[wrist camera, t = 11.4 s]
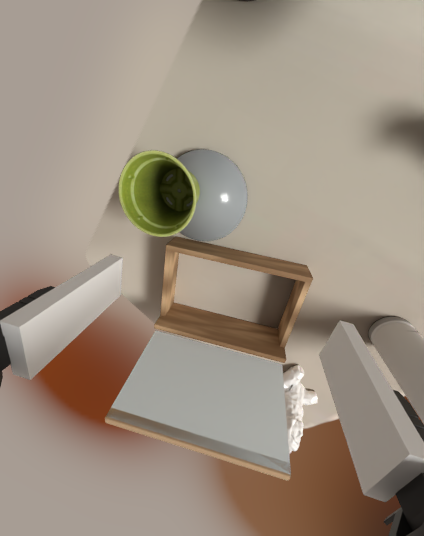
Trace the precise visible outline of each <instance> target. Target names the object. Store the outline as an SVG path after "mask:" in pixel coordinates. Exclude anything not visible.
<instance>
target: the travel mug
mask: <svg viewBox="0 0 424 536" xmlns="http://www.w3.org/2000/svg"><path fill="white" fill-rule="evenodd" d="M368 335H369V338H370V340H371V342H372V343H373V345H374V346H375V348H376V350H377V351H378V353H379V354H380V356H381V357H382V359H383V361H384V362H385V364H386V365H387V367H388V368H389V370H390V372H391V373H392V375H393V376H394V378H395V379H396V381H397V383H398V384H399V386H400V387H401V389H402V390H403V392H404V394H405V395H406V397H407V398H408V400H409V401H410V403H411V404H412V406H413V408H414V409H415V411H416V412H417V414H418V415H419V417H420V419H421V420H422V422H423V423H424V337H423V336H422V335H421V334H420V333H419V332H418V331H417V330H416V329H415V328H414V327H413V326H412V325H411V324H410V323H409V322H408V321H407V320H405V319H403V318H399V317H386V318H383V319H380V320H378V321H376V322H375V323H374V324H373V325H372V326H371V327H370V329H369V334H368Z"/></svg>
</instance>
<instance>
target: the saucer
mask: <svg viewBox="0 0 424 536" xmlns="http://www.w3.org/2000/svg"><path fill="white" fill-rule="evenodd" d="M177 159H178V160H179V161H180V162H181V163H182V164H183V165H184V166H185V167H186V169H187V170H188V171H190V172H191V173H192V174H193V175H194V176H195V177H196V179H197V181H198V183H199V187H200V195H199V199H198V201H197V203H196V208H195V212H194V214H193V217H192V219H191V221H190V222H189V223H188V225H187V226H186V227H185V228H184V229H183V230H181V231H180V233H182V234H183V235H185V236H187V237H189V238H191V239H194V240H198V241H213V240H218V239H220V238H223V237H225V236H226V235H228V234H229V233H231V232H232V231H233V230H234V229H235V228H236V227H237V226H238V224H239V223H240V221H241V220H242V218H243V216H244V213H245V210H246V206H247V197H248V194H247V187H246V182H245V180H244V177H243V175H242V173H241V171H240V170H239V168H238V167H237V166H236V165H235V163H234V162H233V161H231V160H230V159H229V158H228V157H226V156H224V155H223V154H220V153H218V152H215V151H211V150H204V149H203V150H194V151H190V152H187V153H185V154H183V155H181V156H180V157H179V158H177ZM172 176H173V174H171V175H169V176H168V177H167V179H166V181H168V180H169V179H170V178H171V177H172ZM178 192H179V193H180V192H181V190H180V189H178ZM166 199H167V201H168V202H169V203H170V204H171V205H172V203H171V201H170V200H169V199H168V197H166ZM192 203H193V200H192V201H191V202H190V203H188V204H187V205H186V206H190V205H191V204H192Z"/></svg>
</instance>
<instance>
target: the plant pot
mask: <svg viewBox="0 0 424 536" xmlns="http://www.w3.org/2000/svg"><path fill="white" fill-rule="evenodd" d="M171 174H173V176H172V177H171V178H170V179H169V180H168V181H166V179H167V177H168V176H169V175H171ZM178 189H180V190H181V192H180V193H179V192H178ZM199 195H200V187H199V183H198V181H197V179H196V177H195V176H194V175H193V174H192V173H191V172H190V171H188V170H187V169H186V167H185V166H184V165H183V164H182V163H181V162H180V161H179V160H178V159H176V158H175V157H173V156H172V155H170V154H168V153H165V152H161V151H155V150H150V151H144V152H141V153H139V154H137V155H135V156H134V157H133V158H131V159H130V160H129V161H128V163H127V164H126V165H125V167H124V169H123V171H122V173H121V176H120V180H119V199H120V203H121V206H122V208H123V211H124V212H125V214H126V216H127V218H128V219H129V220H130V221H131V222H132V224H133V225H134V226H136V227H137V228H138V229H140V230H141V231H143V232H145V233H147V234H149V235H152V236H158V237H167V236H171V235H174V234H176V233H178V232H180V231H181V230H183V229H184V228H185V227H186V226H187V225H188V223H189V222H190V221H191V219H192V217H193V214H194V212H195V208H196V203H197V201H198V199H199ZM166 197H168V199H169V200H170V201H171V203H172V205H171V204H170V203H169V202H168V201H167V199H166ZM192 200H193V203H192V204H191V205H190V206H186V205H187V204H188V203H190V202H191V201H192Z"/></svg>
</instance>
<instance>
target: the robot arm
mask: <svg viewBox="0 0 424 536" xmlns="http://www.w3.org/2000/svg"><path fill="white" fill-rule="evenodd" d="M241 1H254V0H241ZM122 261H123V258H122V257H118V256H115V255H109V256H107V257H106V258H104V259H102V260H101V261H99V262H97V263H96V264H94V265H92V266H91V267H89V268H87V269H86V270H84V271H82V272H81V273H79V274H78V275H76V276H74V277H72V278H71V279H69V280H67V281H66V282H64V283H62V284H61V285H59V286H57V287H52V286H50V287H47V288H44V289H40V290H38V291H36V292H34V293H33V294H31V295H29V296H28V297H25V298H23V299H22V300H20V301H19V302H16V303H15V304H13V305H11V306H10V307H8V308H6V309H4V310H2V311H0V386H1V382H2V377H3V376H2V370H3V369H5V368H6V367H7V366H9V365H10V364H11V368H12V372H13V374H14V375H17V376H20V377H23V378H26V379H29V380H31V379H32V378H33V377H34V376H35V375H36V374H37V373H38V372H39V371H40V370H41V369H43V368H44V367H45V365H47V364H48V363H49V362H50V361H51V360H52V359H53V358H54V357H55V356H56V355H57V354H58V353H60V352H61V351H62V350H63V349H64V348H65V347H66V346H67V345H68V344H69V343H70V342H71V341H72V340H74V338H76V337H77V336H78V335H79V334H80V333H81V332H82V331H83V330H84V329H85V328H86V327H87V326H88V325H90V324H91V323H92V322H93V321H94V320H95V319H96V318H97V317H98V316H99V315H100V314H101V313H102V312H103V311H105V309H107V308H108V307H109V306H110V305H111V304H112V303H113V302H114V301H115V300H116V299H117V298H118V297H119V296H120V295H121V283H122ZM319 356H320V359H321V362H322V366H323V369H324V372H325V375H326V378H327V381H328V384H329V387H330V391H331V394H332V397H333V400H334V403H335V406H336V409H337V413H338V416H339V419H340V422H341V425H342V428H343V431H344V434H345V437H346V441H347V444H348V447H349V450H350V453H351V456H352V459H353V463H354V466H355V469H356V472H357V475H358V478H359V482H360V485H361V488H362V491H363V494H364V495H366V496H369V497H372V498H375V499H378V500H381V501H384V502H387V501H388V500H389V499H390V498H392V497H393V496H394V495H396V496H397V498H398V500H399V503H400V505H401V508H399V509H398V510H397V511H395V512H394V513H392V514H391V515H390V516H388V517H387V518H386V519H385V521H384V523H385V524H386V525H388V524H390V523H391V522H393V523H392V527H391V530H390V533H389V536H424V425H423V423H422V422H421V420H419V419H418V415H417V414H416V412H415V411H414V409H413V408H412V406H411V404H410V403H409V402H408V401H407V400H405V398H404V397H403V396H402V395H401V394H400V393H399V392H398V391H395V390H392V388H391V386H390V385H389V383H388V381H387V380H386V378H385V376H384V375H383V373H382V371H381V370H380V368H379V366H378V365H377V363H376V361H375V360H374V358H373V356H372V355H371V353H370V351H369V350H368V348H367V346H366V345H365V343H364V341H363V340H362V338H361V336H360V335H359V333H358V331H357V330H356V328H355V326H354V324H351V323H348V322H344V321H341V320H339V322H338V324H337V325H336V327H335V329H334V330H333V332H332V334H331V336H330V337H329V339H328V341H327V342H326V344H325V346H324V347H323V349H322V351H321V352H320V354H319Z"/></svg>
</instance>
